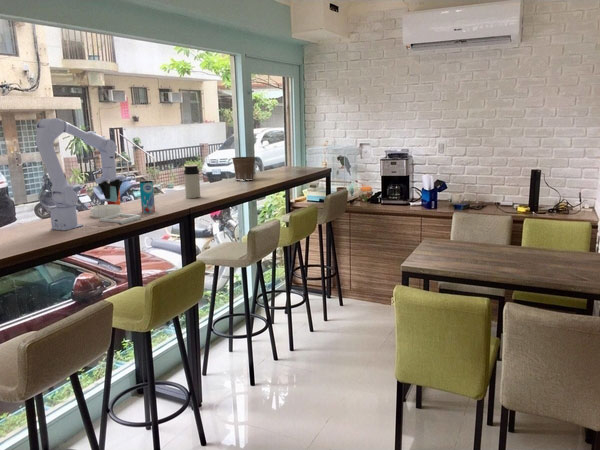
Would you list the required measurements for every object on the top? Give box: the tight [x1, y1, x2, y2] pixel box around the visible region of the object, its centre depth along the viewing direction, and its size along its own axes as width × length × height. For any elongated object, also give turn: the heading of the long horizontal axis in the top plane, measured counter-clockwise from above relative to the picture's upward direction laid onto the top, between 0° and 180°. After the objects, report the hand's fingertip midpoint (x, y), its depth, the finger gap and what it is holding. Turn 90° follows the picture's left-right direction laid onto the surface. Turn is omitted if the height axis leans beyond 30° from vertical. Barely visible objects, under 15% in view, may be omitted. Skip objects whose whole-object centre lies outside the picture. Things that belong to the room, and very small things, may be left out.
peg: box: [106, 186, 117, 202], centre depth 222 cm, size 4×4×6 cm
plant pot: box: [231, 156, 256, 180], centre depth 351 cm, size 16×16×16 cm
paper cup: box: [106, 182, 121, 205], centre depth 247 cm, size 8×8×14 cm
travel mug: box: [183, 164, 201, 199], centre depth 280 cm, size 8×8×18 cm
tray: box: [99, 213, 142, 225], centre depth 219 cm, size 12×12×2 cm
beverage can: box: [139, 180, 156, 214], centre depth 235 cm, size 6×6×15 cm
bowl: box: [90, 204, 123, 219], centre depth 230 cm, size 13×13×4 cm
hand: (111, 197), depth 222 cm, fingers closed on peg, 4 cm apart
